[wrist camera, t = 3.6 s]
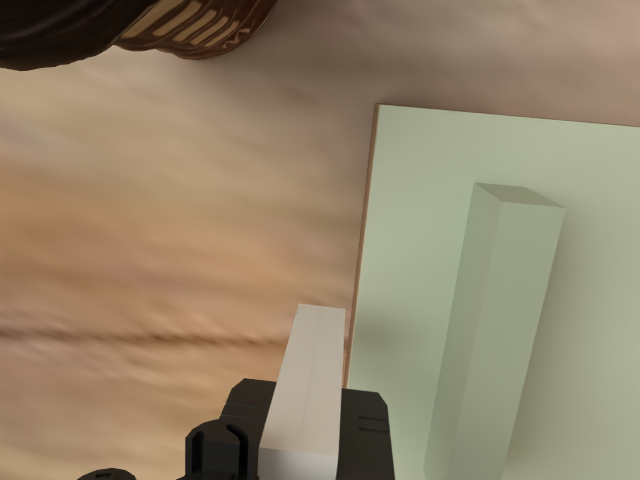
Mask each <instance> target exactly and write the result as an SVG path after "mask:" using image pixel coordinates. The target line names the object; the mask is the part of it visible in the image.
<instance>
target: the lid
mask: <svg viewBox="0 0 640 480" xmlns="http://www.w3.org/2000/svg"><path fill="white" fill-rule="evenodd" d="M347 389H354V390H363V391H372V392H378V393H379V394H380V396H381V397H382V398H383V400H384V401H385V403H386V404H387V406H388V415H389V425H390V435H391V444H392V454H393V463H394V473H395V480H640V127H631V126H620V125H608V124H597V123H585V122H574V121H562V120H551V119H540V118H528V117H517V116H505V115H494V114H483V113H471V112H460V111H448V110H437V109H425V108H414V107H403V106H391V105H380V104H379V112H378V121H377V130H376V138H375V147H374V156H373V164H372V173H371V182H370V190H369V199H368V208H367V216H366V225H365V234H364V242H363V251H362V260H361V268H360V277H359V286H358V294H357V303H356V312H355V320H354V329H353V338H352V346H351V355H350V364H349V372H348V381H347Z"/></svg>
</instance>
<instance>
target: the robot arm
mask: <svg viewBox="0 0 640 480" xmlns="http://www.w3.org/2000/svg"><path fill="white" fill-rule="evenodd" d="M344 328H345V308H336V307H326V306H317V305H308V304H299V305H298V309H297V312H296V316H295V319H294V323H293V327H292V330H291V334H290V337H289V341H288V345H287V348H286V352H285V355H284V359H283V362H282V366H281V370H280V373H279V377H278V380H277V382H273V381H264V380H255V379H247V378H244V379H243V380H242V381H241V382H239V383H238V384H237V385H236V386H235V387H233V388H232V390H231V392H230V394H229V397H228V399H227V401H226V405H225V406H224V408H223V411H222V413H221V416H220V418H219V419H216V420H212V421H208V422H205V423H202V424H201V425H199V426H197V427H196V428H194V429H192V431H191V432H190V433H189V434H188V435H187V437H186V438H185V476H183V477H181V478H179V479H176V480H395V473H394V463H393V454H392V444H391V435H390V425H389V415H388V406H387V404H386V403H385V401H384V400H383V398H382V397H381V396H380V394H379V393H378V392H372V391H363V390H354V389H346V388H342V369H343V348H344ZM77 480H136V478H135V476H134V475H132V474H131V473H129V472H127V471H126V470H122V469H115V468H108V469H101V470H96V471H93V472H91V473H88V474H86V475H83V476H82V477H80V478H79V479H77Z"/></svg>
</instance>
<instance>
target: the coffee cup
mask: <svg viewBox="0 0 640 480" xmlns="http://www.w3.org/2000/svg"><path fill="white" fill-rule="evenodd" d="M277 1H278V0H0V68H6V69H12V70H18V71H28V70H33V69H38V68H45V67H56V66H58V65H66V64H70V63H72V62H75V61H78V60H84V59H86V58H88V57H93V56H96V55H98V54H100V53H102V52H103V51H105V50H107V49H108V48H110V47H111V46H112V45H116V46H118V47H120V48H122V49H125V50H129V51H146V50H151V49H157V50H159V51H162V52H166V53H173V54H174V55H176V56H177V57H179V58H183V59H191V60H200V59H207V58H211V57H215V56H219V55H222V54H224V53H227V52H229V51H232V50H233V49H235V48H236V47H238V46H239V45H241V44H242V43H243V42H245V41H246V40H248V39H249V38H250V37H252V36H253V35H254V34H255V33H256V32H257V31H258V30H259V28H260V27H261V26H262V24H263V23H264V22H265V21H266V20H267V18H268V17H269V15H270V13H271V11H272V9H273V7H274V6H275V4H276V2H277Z"/></svg>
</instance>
